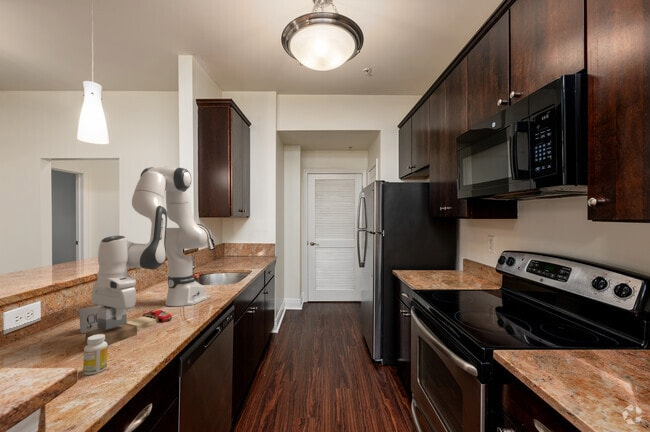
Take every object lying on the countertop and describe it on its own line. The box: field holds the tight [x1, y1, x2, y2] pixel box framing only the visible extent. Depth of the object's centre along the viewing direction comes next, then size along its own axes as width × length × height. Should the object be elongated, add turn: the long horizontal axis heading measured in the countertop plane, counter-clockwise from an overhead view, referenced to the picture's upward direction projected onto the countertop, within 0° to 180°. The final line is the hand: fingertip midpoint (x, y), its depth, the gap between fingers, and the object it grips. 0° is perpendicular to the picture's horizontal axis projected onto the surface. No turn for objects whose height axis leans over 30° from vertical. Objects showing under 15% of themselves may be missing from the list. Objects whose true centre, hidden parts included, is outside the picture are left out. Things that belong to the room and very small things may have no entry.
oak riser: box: [126, 316, 157, 332], centre depth 117 cm, size 8×8×2 cm
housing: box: [97, 306, 128, 330], centre depth 105 cm, size 5×7×7 cm
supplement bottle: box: [82, 334, 109, 376], centre depth 83 cm, size 5×5×10 cm
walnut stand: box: [84, 324, 138, 346], centre depth 105 cm, size 11×11×3 cm
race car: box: [142, 309, 173, 323], centre depth 125 cm, size 13×5×4 cm, turn 71°
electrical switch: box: [78, 304, 101, 335], centre depth 113 cm, size 9×5×9 cm, turn 141°
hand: (112, 318), depth 105 cm, fingers closed on housing, 5 cm apart
